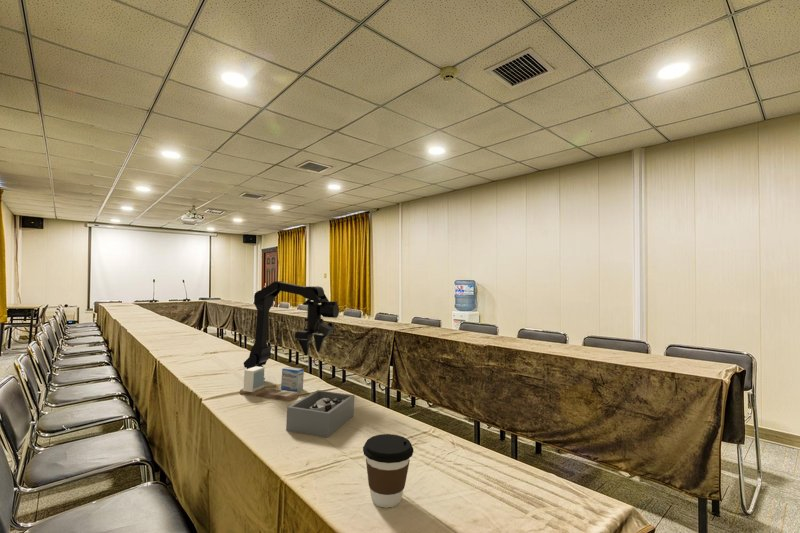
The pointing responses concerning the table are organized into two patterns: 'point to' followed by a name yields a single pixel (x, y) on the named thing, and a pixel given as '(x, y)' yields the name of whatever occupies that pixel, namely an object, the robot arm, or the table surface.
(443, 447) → the table surface
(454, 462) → the table surface
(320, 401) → the camera
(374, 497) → the coffee cup
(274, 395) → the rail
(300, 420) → the tray
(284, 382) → the medicine box
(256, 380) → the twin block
